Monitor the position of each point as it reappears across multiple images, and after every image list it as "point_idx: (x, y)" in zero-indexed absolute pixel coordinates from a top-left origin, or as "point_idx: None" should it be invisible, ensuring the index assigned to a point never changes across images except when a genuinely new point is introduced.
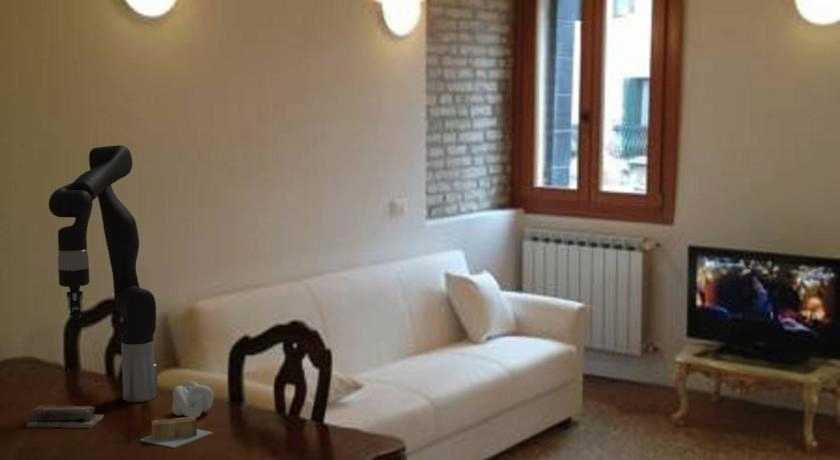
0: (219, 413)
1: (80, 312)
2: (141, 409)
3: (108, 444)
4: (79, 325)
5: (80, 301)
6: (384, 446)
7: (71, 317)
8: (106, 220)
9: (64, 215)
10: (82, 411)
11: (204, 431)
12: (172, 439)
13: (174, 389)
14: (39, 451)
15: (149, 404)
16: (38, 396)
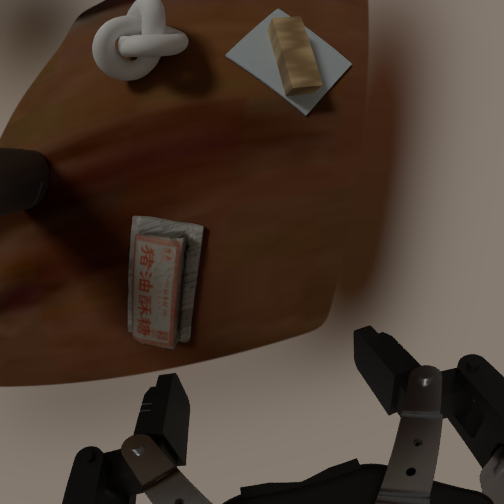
0: None
1: (478, 366)
2: (91, 152)
3: (316, 170)
4: (382, 344)
5: (432, 464)
6: None
7: (393, 412)
8: None
9: None
10: (182, 250)
11: (271, 18)
12: None
13: (154, 47)
14: (332, 281)
15: (63, 147)
16: (35, 349)
